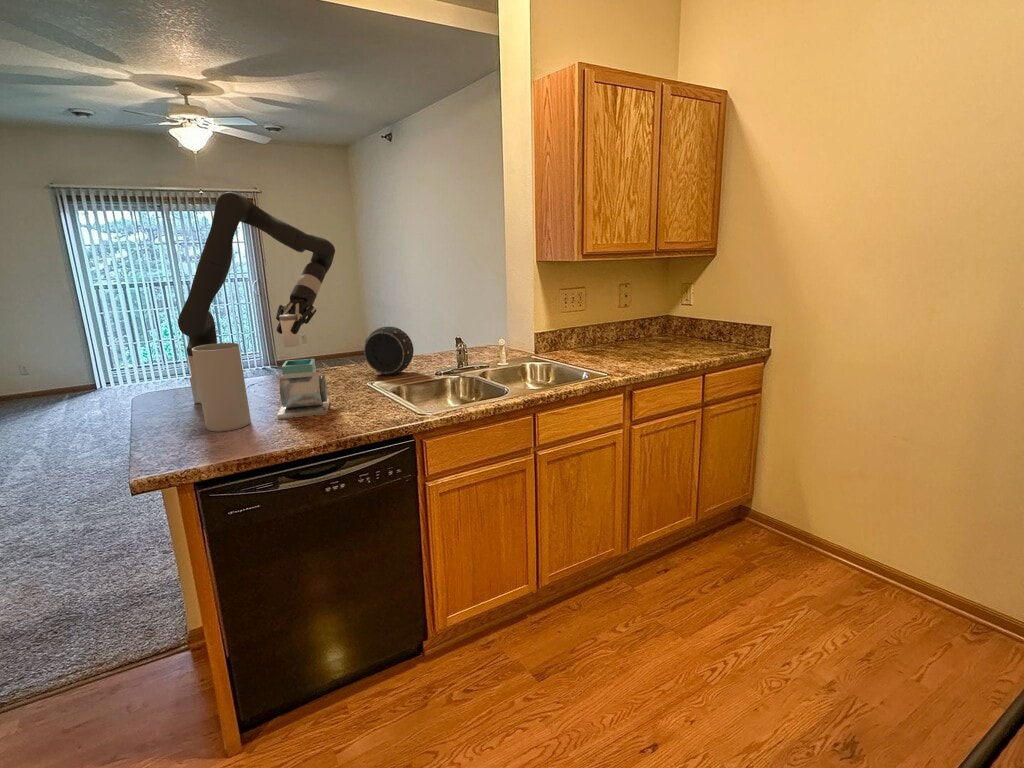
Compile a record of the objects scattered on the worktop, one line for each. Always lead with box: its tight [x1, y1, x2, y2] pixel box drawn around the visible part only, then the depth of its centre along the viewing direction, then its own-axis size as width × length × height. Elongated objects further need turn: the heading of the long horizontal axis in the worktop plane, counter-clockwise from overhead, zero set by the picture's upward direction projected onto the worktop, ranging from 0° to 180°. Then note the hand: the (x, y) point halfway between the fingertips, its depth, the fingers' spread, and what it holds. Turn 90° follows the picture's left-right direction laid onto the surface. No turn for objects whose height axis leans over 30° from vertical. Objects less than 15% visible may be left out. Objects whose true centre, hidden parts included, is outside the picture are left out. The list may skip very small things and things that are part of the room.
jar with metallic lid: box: [279, 314, 301, 348], centre depth 176 cm, size 5×5×10 cm
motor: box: [276, 358, 330, 420], centre depth 180 cm, size 15×14×16 cm
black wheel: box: [363, 326, 414, 376], centre depth 227 cm, size 11×20×20 cm, turn 78°
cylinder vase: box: [192, 342, 252, 433], centre depth 166 cm, size 12×12×25 cm
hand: (286, 332), depth 175 cm, fingers closed on jar with metallic lid, 5 cm apart
